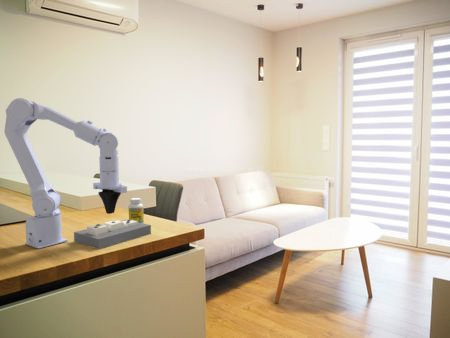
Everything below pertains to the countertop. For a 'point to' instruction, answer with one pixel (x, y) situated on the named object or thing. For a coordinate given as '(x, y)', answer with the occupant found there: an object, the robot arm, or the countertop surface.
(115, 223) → the tile one
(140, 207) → the supplement bottle
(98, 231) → the tile two
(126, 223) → the tile three
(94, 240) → the button board
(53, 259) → the countertop surface
